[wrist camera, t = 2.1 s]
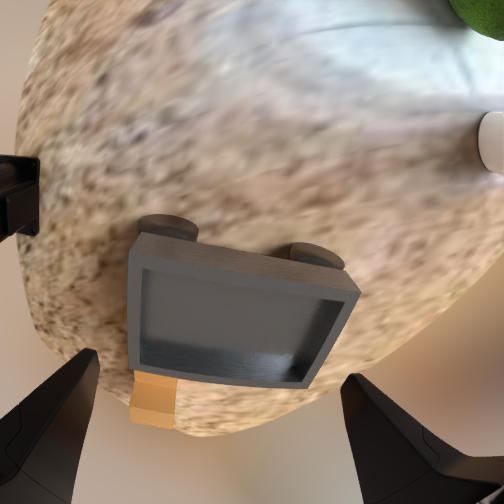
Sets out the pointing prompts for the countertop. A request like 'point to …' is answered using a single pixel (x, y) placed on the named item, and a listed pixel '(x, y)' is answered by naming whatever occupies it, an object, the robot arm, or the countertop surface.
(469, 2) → the avocado
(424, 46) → the countertop surface
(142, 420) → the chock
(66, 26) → the countertop surface
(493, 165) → the can
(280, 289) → the tray
